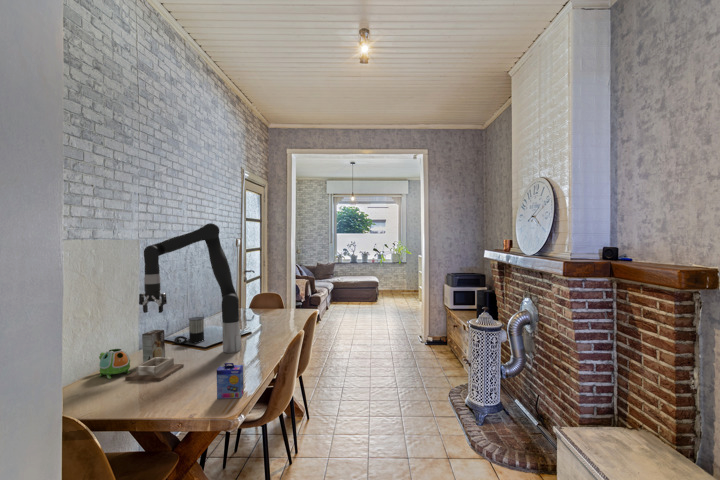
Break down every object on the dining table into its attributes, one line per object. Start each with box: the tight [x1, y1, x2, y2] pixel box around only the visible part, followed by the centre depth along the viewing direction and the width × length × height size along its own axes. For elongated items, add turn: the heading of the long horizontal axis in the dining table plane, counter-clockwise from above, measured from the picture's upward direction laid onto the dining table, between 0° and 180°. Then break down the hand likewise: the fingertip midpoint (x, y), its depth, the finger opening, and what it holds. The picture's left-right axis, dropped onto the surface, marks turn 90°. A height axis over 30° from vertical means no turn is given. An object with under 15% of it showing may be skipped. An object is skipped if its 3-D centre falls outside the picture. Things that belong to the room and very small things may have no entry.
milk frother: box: [173, 316, 205, 345], centre depth 236 cm, size 14×16×15 cm
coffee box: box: [141, 329, 166, 363], centre depth 200 cm, size 9×6×16 cm
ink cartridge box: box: [216, 362, 245, 400], centre depth 155 cm, size 10×6×14 cm, turn 95°
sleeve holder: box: [124, 357, 185, 382], centre depth 183 cm, size 18×18×6 cm
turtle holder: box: [98, 347, 131, 380], centre depth 183 cm, size 12×18×12 cm
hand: (153, 312), depth 199 cm, fingers open, 8 cm apart
